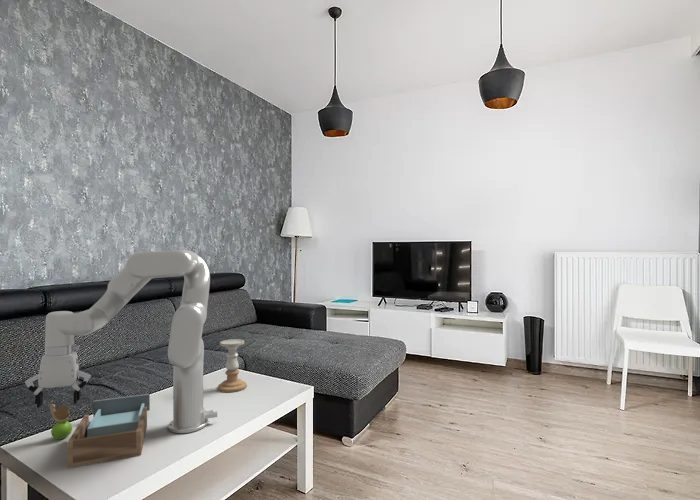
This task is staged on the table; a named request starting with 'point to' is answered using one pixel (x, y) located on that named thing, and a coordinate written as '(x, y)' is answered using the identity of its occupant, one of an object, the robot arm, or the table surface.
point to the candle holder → (232, 368)
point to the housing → (105, 443)
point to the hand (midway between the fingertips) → (58, 404)
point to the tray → (117, 414)
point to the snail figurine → (60, 422)
